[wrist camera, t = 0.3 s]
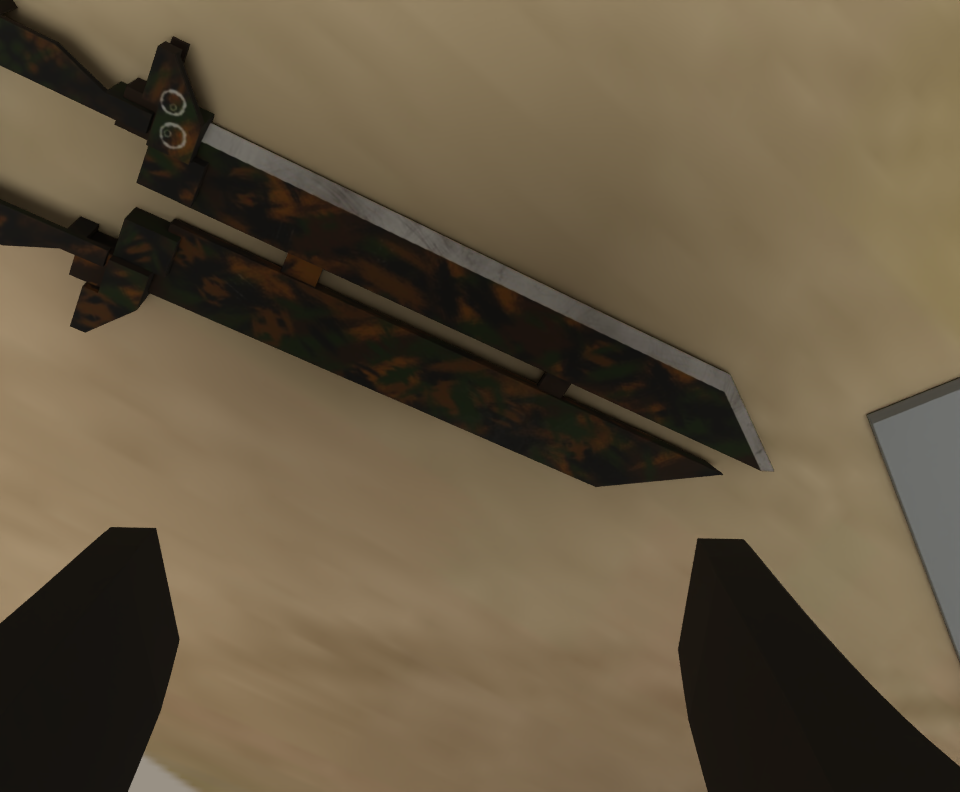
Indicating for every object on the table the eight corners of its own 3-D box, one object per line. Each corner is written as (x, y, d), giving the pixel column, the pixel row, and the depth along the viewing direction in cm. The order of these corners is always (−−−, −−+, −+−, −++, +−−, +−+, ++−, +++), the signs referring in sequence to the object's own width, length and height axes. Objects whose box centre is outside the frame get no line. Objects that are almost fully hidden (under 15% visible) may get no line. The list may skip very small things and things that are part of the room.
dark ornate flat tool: (804, 411, 23) (823, 443, 22) (641, 579, 26) (649, 616, 25) (-316, -273, 16) (-383, -282, 15) (-367, 65, 19) (-426, 81, 18)
